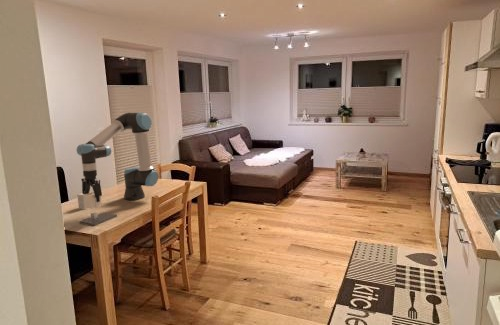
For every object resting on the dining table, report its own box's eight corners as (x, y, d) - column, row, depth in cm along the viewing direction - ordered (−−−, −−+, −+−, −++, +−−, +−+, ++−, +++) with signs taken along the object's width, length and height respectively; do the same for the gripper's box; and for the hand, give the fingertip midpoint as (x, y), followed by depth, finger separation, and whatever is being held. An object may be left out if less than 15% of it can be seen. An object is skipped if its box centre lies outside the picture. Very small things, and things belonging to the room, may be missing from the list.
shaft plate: (103, 214, 233) (103, 206, 232) (117, 216, 228) (116, 208, 227) (80, 223, 218) (79, 214, 216) (94, 226, 212) (93, 217, 211)
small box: (87, 205, 252) (86, 191, 250) (93, 206, 250) (92, 191, 248) (78, 208, 245) (76, 194, 243) (84, 209, 243) (83, 194, 241)
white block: (93, 204, 223) (92, 191, 221) (101, 205, 220) (100, 192, 218) (84, 207, 216) (83, 194, 215) (92, 208, 213) (91, 195, 212)
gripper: (73, 169, 215) (76, 205, 219) (96, 172, 206) (99, 209, 210) (83, 167, 221) (87, 202, 226) (106, 169, 213) (109, 206, 217)
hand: (93, 206), depth 218 cm, fingers closed on white block, 7 cm apart
